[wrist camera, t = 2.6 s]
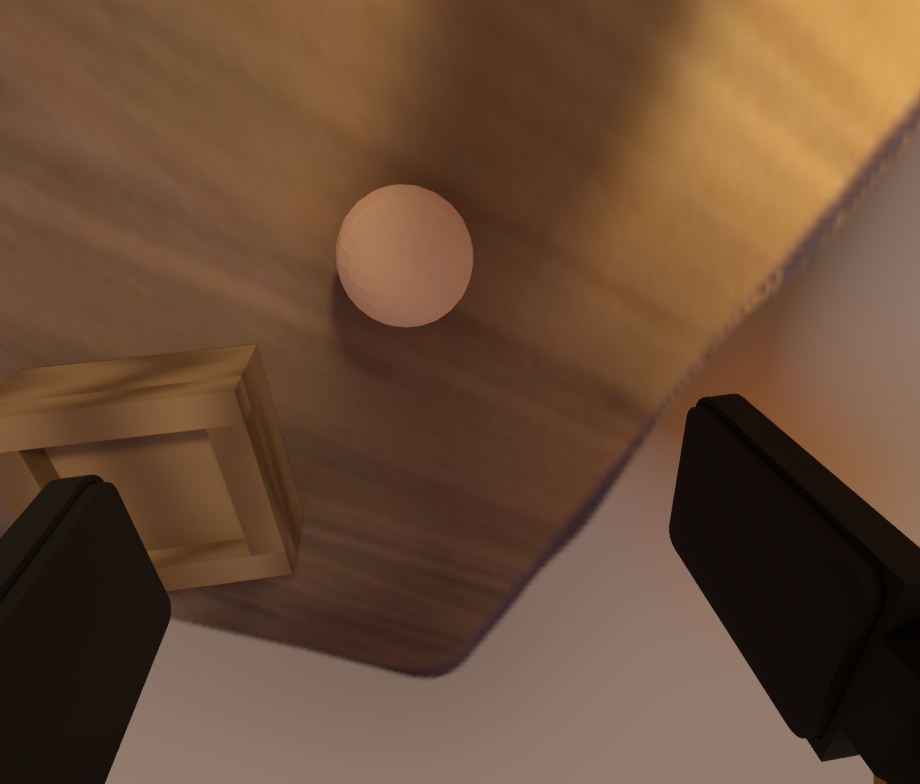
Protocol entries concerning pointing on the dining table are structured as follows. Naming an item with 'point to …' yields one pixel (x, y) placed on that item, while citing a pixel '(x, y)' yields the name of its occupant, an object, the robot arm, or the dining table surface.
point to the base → (164, 456)
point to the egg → (404, 255)
